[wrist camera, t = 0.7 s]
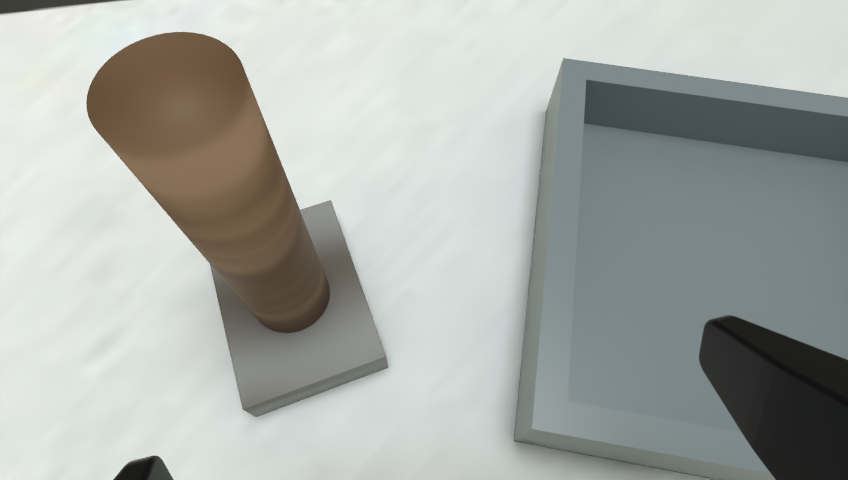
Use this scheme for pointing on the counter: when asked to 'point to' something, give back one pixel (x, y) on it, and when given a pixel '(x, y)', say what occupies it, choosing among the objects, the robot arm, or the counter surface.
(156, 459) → the robot arm
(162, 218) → the counter surface
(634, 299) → the tray
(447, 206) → the counter surface
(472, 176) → the counter surface
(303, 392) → the brown post on plinth
